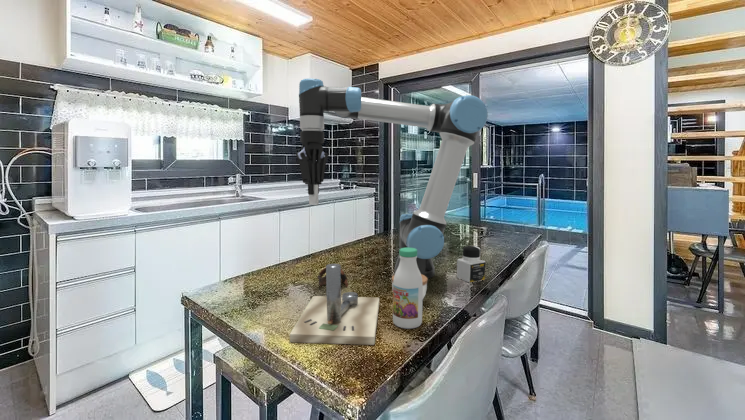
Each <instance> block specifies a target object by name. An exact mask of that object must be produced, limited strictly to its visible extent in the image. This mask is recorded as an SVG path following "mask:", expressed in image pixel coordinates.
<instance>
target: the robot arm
mask: <svg viewBox="0 0 745 420" xmlns="http://www.w3.org/2000/svg"><path fill="white" fill-rule="evenodd" d="M298 85H299V86H298V89H299V91H298V103H299V105H298V106H299V128H300V130H301V131H300V132H299V133H300V134H299V135H300V136H299V140H300V141H299V142H300V143H301V144H302V145H301V151H298V152H296V153H295V155H296V158H297V159H298V163H299V169H300V176H301V180H302V183H304V184H305V185H307V194H308V205H313V206H317V205H319V194H320V185H322V184H323V182H324V179H325V171H326V166H327V165H326V163H327V159H328V157H329V153H327V152H324V149H323V144H324V143H325V132H324V130H325V114H324V113H329V112H330V113H331V112H333V113H334V114H335V115H336V116H337V117H339V118H341V119H348V118H349V119H360V120H366V121H373V122H380V123H390V124H396V125H403V126H412V127H417V128H418V127H419V128H425V129H427V131H428V132H435V133H439V136H440V138H441V141H440V142H441V143H440V146H439V149H438V151H437V154H436V157H435V160H434V164H433V167H432V170H431V173H430V176H429V179H428V182H427V184H426V188H425V191H424V195H423V197H422V200H421V203H420V205H419V209H417V210H415V211H413V212H412V213H402V214H401V215H400V216H399V248H398V249H399V250H400V249H401V248H406V247H409V248H415V249H417V258H416V262H417V266H418V269H419V271H420V273H421V274H422V275H424V276H426V277H427V279H428V280H429V279H431V278H433V277H434V276H435V271H436V270H435V269H436V268H435V264H434V262H433V258H434V257H437V255H439V254H440V253H441V252H442V250H443V248H444V246H445V237H444V233H445V230H446V226H447V221H446V219H445V215H446V212H447V210H448V205H449V203H450V200H451V198H452V195H453V192H454V189H455V187H456V183H457V180H458V177H459V175H460V171H461V168H462V165H463V163H464V159H465V156H466V154H467V152H468V151H467V150H468V149H469V147H471V146H473V145H474V144H475V141H476V140H477V137H478V133H479V132H480V131H481V130H482V129H483V127H485V125H486V123H487V120H488V116H489V114H488V113H489V112H488V108H487V106H486V104H485V102H484V101H483V100H482V99H481V98H479V97H477V96H476V95H470V94H468V95H462V96H459V97H457V98H455V99H454V100H453V101H451V102H448V103H441V104H439V103H432V104H430V105H424V104H423V105H422V104H417V103H416V104H415V103H410V102H401V101H394V100H388V99H387V100H386V99H380V98H379V99H378V98H373V97H365V96H362V89H361V88H360V87H354V86H325V85H324V82H323V80H322V79H318V78H310V77H309V78H303V79H301V80H300V81H299V84H298ZM399 256H400V255H399V254H398V257H397V260H396V262H395V266H394V274H395V273H396V270H397V268H398V266H399V263H400V257H399Z"/></svg>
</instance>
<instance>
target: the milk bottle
mask: <svg viewBox="0 0 745 420" xmlns="http://www.w3.org/2000/svg"><path fill="white" fill-rule="evenodd" d="M399 255H400V256H399ZM398 256H399V257H400V263H399V266H398V268H397V270H396V273H395V272H394V274H393V275H394V281H393V289H392V322H393V324H394V325H395V326H396V327H399V328H401V329H408V330H409V329H411V330H412V329H416V328H419V327H420V326H421V325H422V324H423V300H424V298H423V284H422V276H421V273H420V271H419V269H418V266H417V262H416V258H417V249H415V248H409V247H406V248H401V249H400V248H399V251H398Z"/></svg>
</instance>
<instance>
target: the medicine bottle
mask: <svg viewBox="0 0 745 420" xmlns="http://www.w3.org/2000/svg"><path fill="white" fill-rule="evenodd" d="M456 263H457V264H456V278H458V279H459V280H461V279H462V281H464V282H466V283H468V282H469V284H472V282H473V283H478V282H482V280H483V281H485V278H486V276H485V275H486V261H485V260H484V259H483V260H482V259H481V248H480V247H479V246H477V245H465V246H463V248H462V258H457V262H456ZM477 281H478V282H477Z"/></svg>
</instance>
